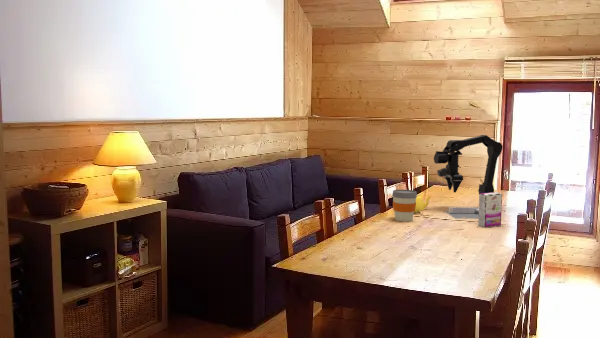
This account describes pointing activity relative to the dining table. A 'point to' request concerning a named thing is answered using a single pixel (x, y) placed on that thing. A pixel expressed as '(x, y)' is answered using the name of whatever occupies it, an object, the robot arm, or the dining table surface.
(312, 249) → the dining table surface
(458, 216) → the dial plate
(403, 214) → the reusable coffee cup
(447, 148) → the robot arm
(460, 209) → the dial lever
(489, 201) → the candy bar box
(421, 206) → the teapot
